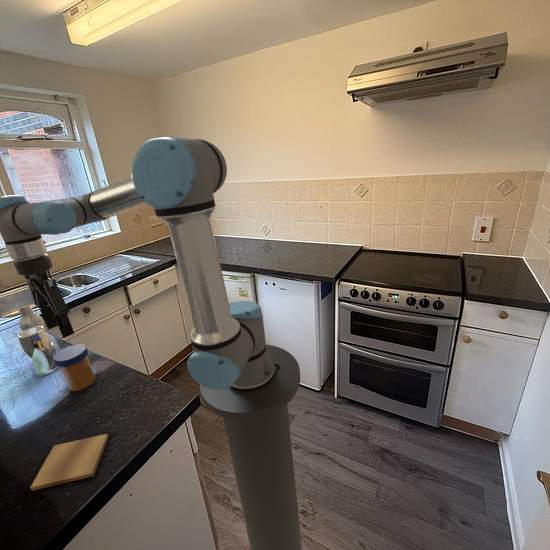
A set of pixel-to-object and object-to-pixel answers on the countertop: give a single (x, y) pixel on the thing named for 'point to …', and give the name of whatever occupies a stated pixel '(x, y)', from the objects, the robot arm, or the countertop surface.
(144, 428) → the countertop surface
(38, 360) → the beer glass
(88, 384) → the jar
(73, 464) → the mat
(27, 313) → the plastic bottle
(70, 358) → the lid
